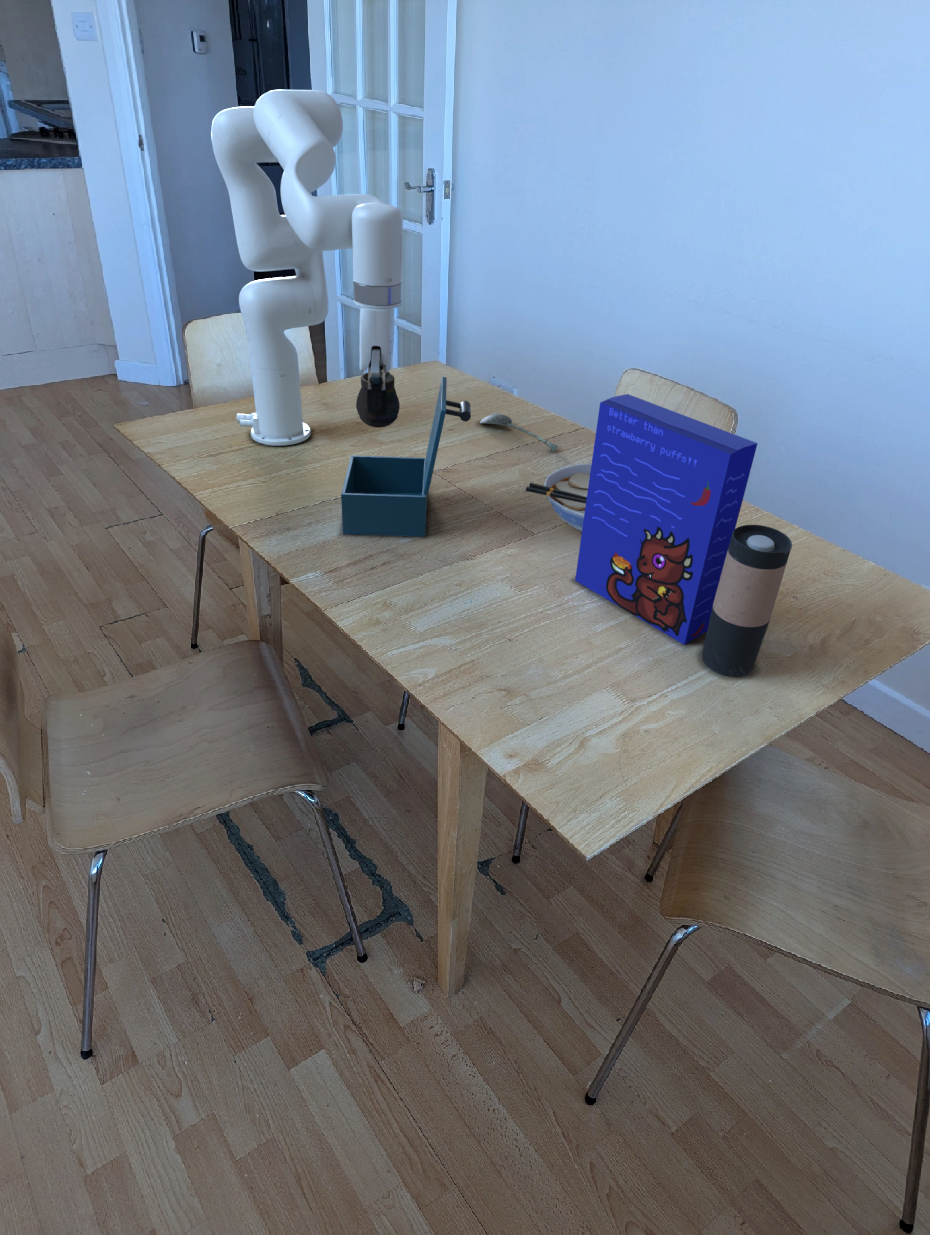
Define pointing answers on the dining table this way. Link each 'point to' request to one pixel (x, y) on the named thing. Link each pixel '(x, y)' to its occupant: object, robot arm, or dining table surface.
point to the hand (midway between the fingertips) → (378, 402)
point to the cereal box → (661, 513)
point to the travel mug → (745, 598)
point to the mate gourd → (392, 404)
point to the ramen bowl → (567, 492)
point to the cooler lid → (437, 429)
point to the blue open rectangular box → (384, 496)
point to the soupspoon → (507, 421)
